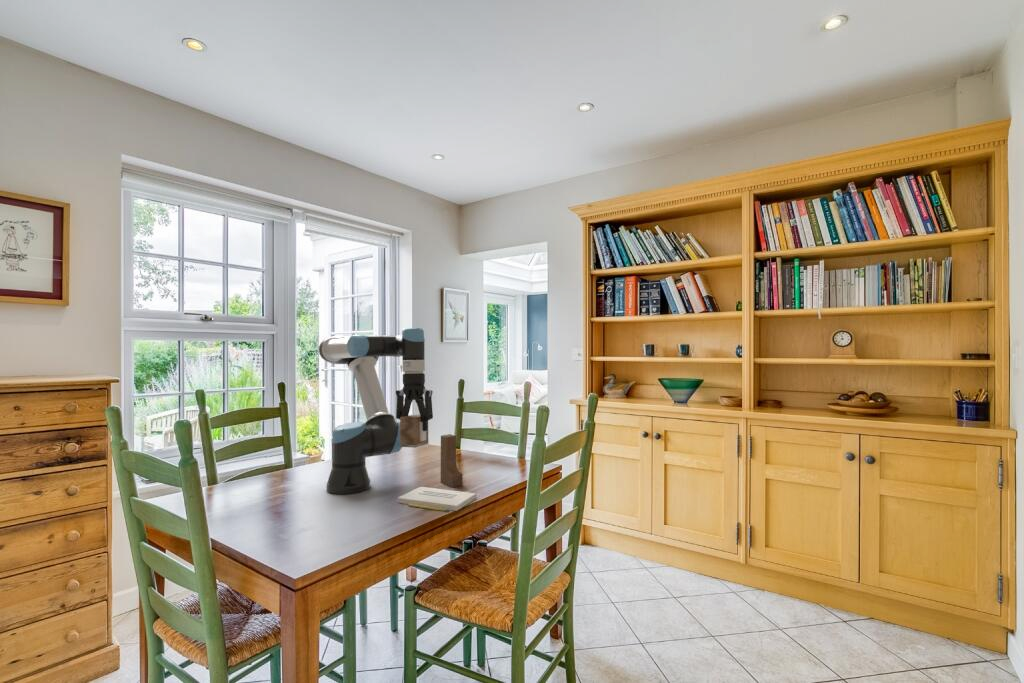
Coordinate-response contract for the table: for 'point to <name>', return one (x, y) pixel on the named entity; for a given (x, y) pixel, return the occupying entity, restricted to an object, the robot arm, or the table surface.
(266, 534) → the table surface
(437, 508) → the pencil
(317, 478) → the table surface
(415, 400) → the robot arm
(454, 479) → the wooden block
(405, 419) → the block
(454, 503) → the board
